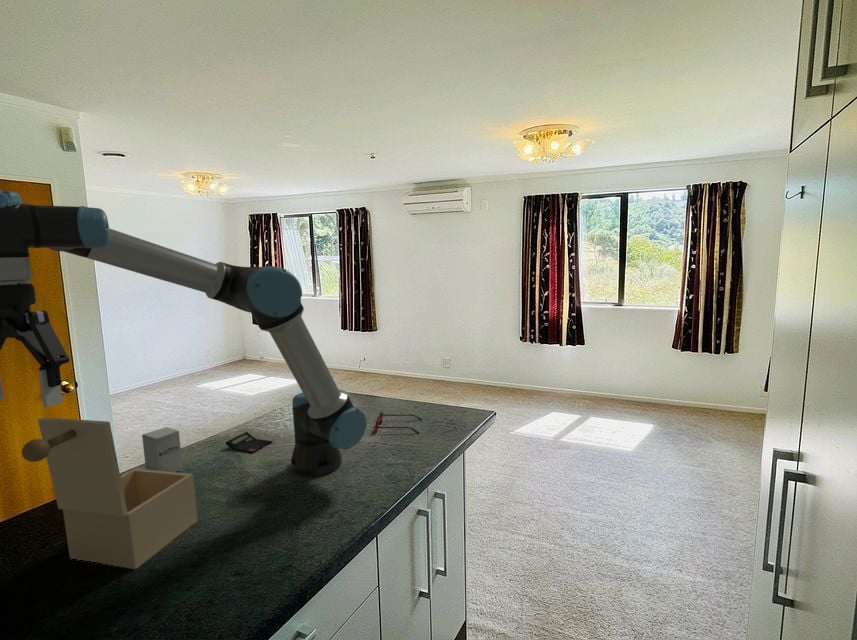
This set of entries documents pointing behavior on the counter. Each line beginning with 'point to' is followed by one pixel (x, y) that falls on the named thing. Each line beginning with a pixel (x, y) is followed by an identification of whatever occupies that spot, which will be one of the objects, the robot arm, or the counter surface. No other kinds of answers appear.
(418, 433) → the glasses
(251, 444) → the calculator
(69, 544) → the carton
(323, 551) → the counter surface
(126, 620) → the counter surface
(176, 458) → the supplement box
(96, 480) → the flap
